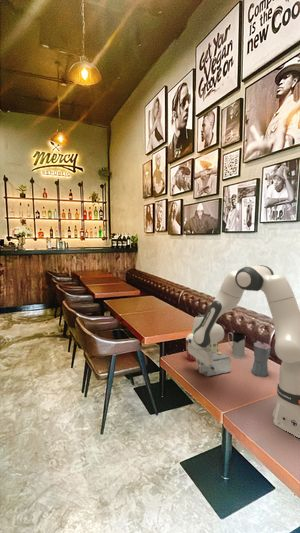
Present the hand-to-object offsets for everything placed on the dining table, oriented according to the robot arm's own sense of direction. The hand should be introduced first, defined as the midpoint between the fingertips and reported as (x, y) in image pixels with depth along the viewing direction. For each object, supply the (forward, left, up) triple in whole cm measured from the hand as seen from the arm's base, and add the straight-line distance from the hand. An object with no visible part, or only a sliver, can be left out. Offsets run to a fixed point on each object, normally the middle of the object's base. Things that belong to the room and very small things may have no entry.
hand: (199, 366), depth 156 cm
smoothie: (+19, -7, -5) cm, 21 cm away
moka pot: (-11, -34, -5) cm, 36 cm away
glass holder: (+15, -39, -5) cm, 42 cm away
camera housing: (+1, -11, -5) cm, 12 cm away
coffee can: (+20, -22, -5) cm, 30 cm away
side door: (-4, -8, -4) cm, 10 cm away
